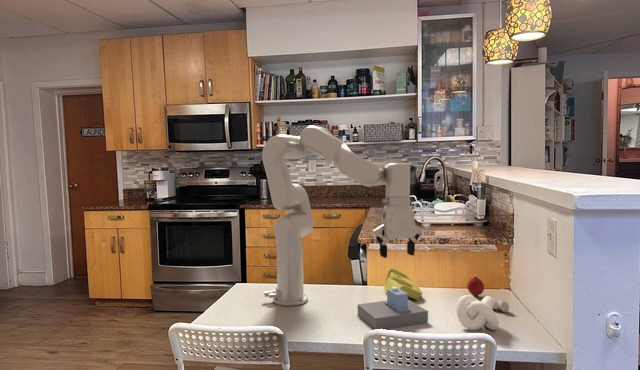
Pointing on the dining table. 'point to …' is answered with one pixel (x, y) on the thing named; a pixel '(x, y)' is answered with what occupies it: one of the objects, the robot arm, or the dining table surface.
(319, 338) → the dining table surface
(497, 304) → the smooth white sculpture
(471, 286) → the onion
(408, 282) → the plastic component
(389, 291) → the block
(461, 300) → the white knot
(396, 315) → the grey flat block
